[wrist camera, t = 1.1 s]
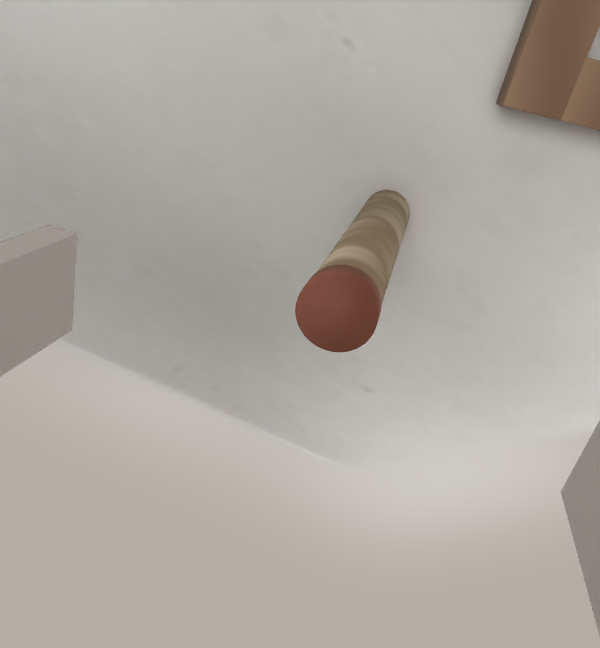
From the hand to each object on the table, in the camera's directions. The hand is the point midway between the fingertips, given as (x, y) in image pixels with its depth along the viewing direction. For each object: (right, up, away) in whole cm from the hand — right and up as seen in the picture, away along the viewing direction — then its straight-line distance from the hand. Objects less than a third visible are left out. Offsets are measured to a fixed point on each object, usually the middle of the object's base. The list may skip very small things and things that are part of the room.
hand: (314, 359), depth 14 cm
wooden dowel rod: (+4, +7, +17) cm, 19 cm away
